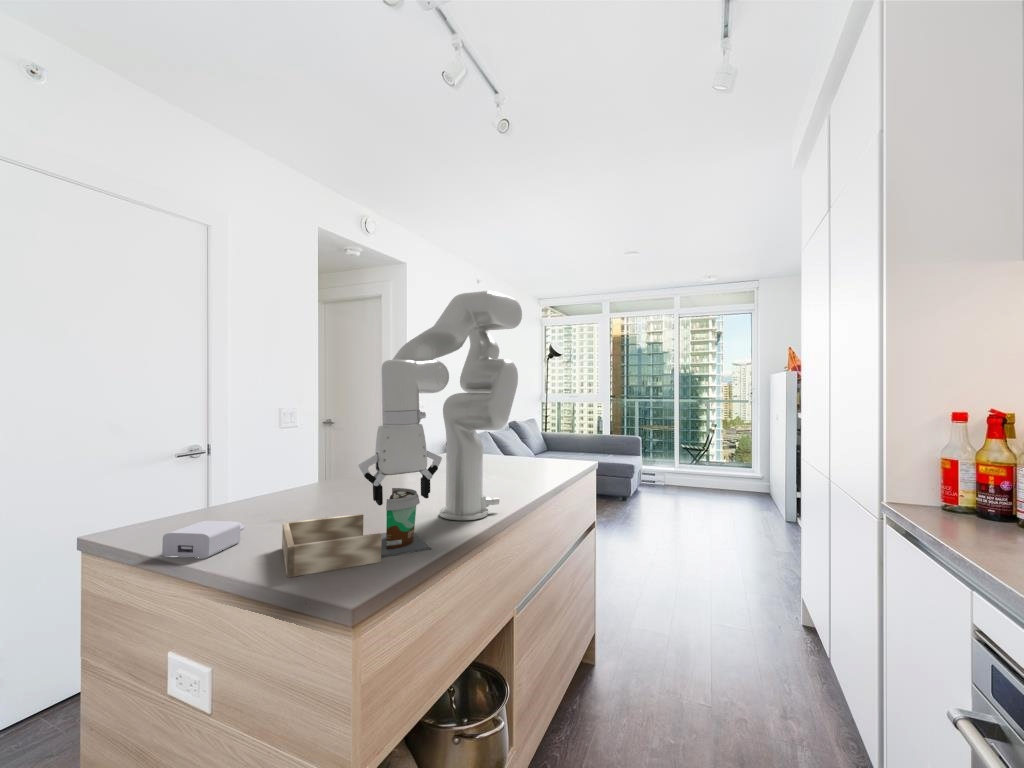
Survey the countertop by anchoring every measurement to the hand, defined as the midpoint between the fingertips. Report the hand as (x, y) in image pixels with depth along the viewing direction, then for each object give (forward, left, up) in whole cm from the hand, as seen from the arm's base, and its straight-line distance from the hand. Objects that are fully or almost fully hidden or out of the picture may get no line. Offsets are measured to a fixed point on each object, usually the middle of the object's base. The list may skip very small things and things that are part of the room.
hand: (402, 500), depth 95 cm
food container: (0, +1, -9) cm, 9 cm away
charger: (+34, -16, -9) cm, 39 cm away
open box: (+14, +1, -9) cm, 17 cm away
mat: (+1, 0, -9) cm, 9 cm away
